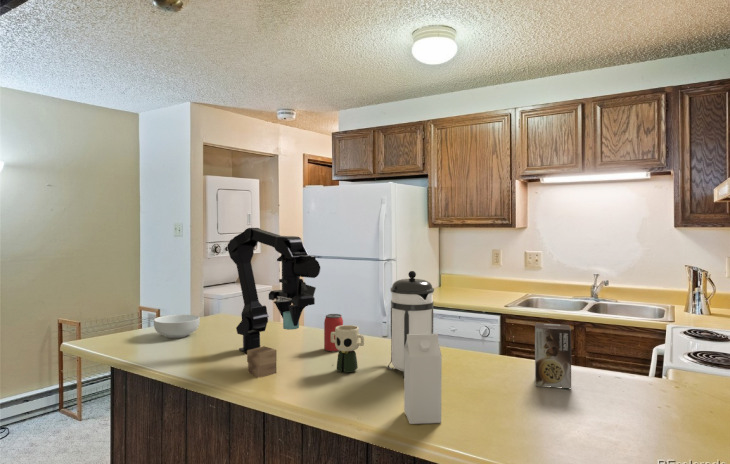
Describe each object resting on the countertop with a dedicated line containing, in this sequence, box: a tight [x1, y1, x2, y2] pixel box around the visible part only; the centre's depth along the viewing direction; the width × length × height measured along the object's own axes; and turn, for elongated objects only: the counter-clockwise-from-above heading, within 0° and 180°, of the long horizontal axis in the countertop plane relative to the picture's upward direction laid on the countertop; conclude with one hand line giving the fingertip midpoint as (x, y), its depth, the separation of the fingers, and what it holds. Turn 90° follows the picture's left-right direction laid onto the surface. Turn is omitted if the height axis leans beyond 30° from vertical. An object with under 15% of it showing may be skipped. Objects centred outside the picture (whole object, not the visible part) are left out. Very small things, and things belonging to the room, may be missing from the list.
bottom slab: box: [247, 361, 277, 378], centre depth 136 cm, size 6×6×4 cm
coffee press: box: [387, 270, 435, 380], centre depth 138 cm, size 17×16×30 cm
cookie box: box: [534, 322, 572, 389], centre depth 127 cm, size 9×6×16 cm
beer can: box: [323, 313, 344, 353], centre depth 161 cm, size 7×7×12 cm
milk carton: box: [403, 333, 443, 425], centre depth 105 cm, size 7×7×19 cm
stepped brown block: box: [246, 345, 277, 366], centre depth 136 cm, size 6×6×4 cm
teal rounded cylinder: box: [282, 311, 300, 331], centre depth 148 cm, size 5×5×5 cm
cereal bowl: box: [153, 314, 201, 339], centre depth 181 cm, size 17×17×7 cm
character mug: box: [331, 324, 365, 373], centre depth 138 cm, size 11×7×13 cm, turn 67°
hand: (291, 324), depth 148 cm, fingers closed on teal rounded cylinder, 5 cm apart
